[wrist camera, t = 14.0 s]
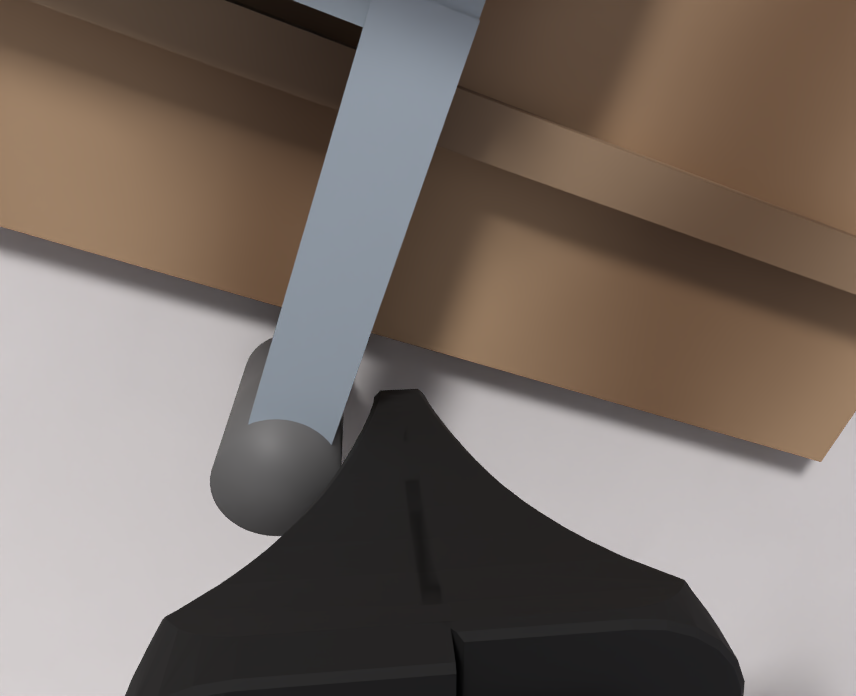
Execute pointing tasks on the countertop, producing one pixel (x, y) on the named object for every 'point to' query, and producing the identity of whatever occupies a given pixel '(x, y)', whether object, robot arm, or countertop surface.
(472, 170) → the housing
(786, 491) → the countertop surface
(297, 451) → the gate
